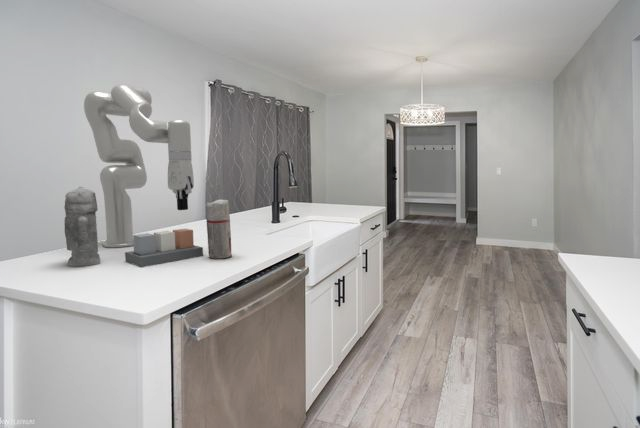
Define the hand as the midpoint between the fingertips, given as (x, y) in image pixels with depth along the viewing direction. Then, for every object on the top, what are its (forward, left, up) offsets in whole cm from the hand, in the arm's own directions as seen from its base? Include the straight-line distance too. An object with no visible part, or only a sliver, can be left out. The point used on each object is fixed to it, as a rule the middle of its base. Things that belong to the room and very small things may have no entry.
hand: (182, 209), depth 148 cm
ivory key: (0, -7, -13) cm, 15 cm away
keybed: (0, -7, -16) cm, 18 cm away
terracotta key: (0, 0, -13) cm, 13 cm away
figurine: (-14, -28, -17) cm, 36 cm away
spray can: (+12, +7, -17) cm, 21 cm away
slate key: (0, -14, -13) cm, 19 cm away
